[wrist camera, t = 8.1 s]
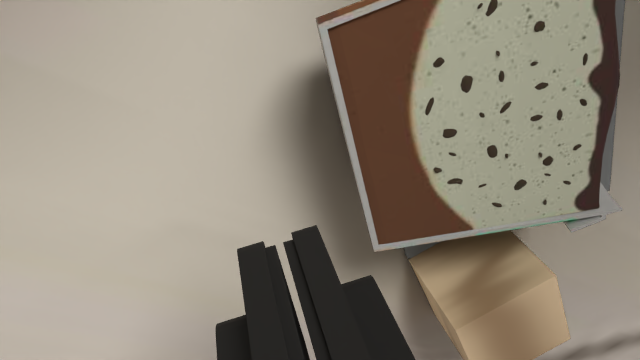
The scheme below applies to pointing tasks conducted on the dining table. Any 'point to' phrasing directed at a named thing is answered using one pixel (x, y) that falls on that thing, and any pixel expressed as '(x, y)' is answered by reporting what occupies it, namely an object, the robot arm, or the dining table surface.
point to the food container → (474, 113)
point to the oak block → (493, 297)
